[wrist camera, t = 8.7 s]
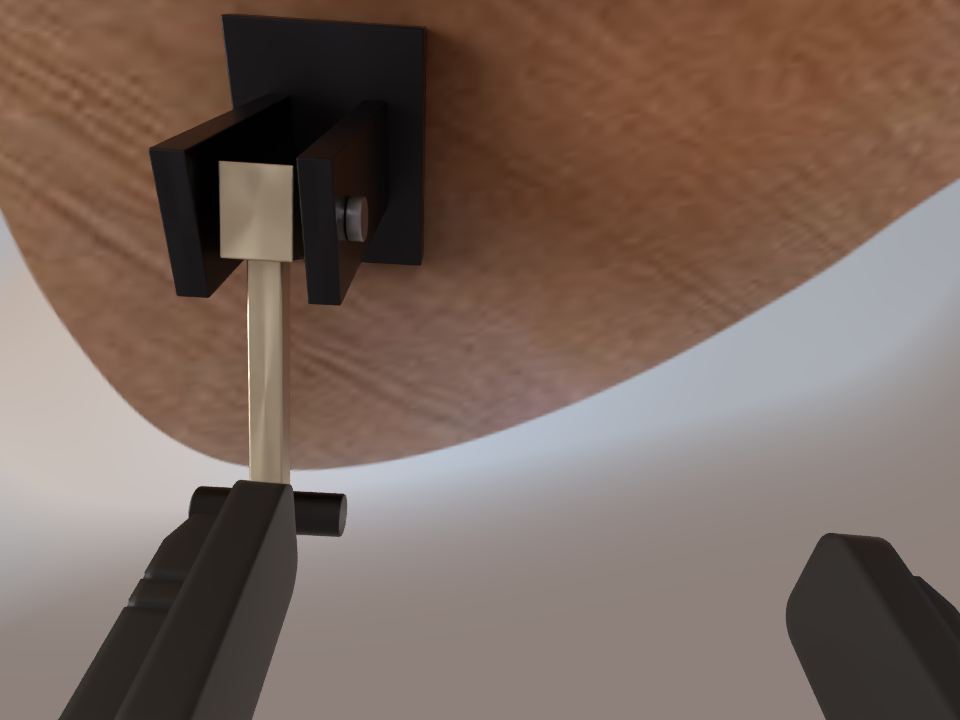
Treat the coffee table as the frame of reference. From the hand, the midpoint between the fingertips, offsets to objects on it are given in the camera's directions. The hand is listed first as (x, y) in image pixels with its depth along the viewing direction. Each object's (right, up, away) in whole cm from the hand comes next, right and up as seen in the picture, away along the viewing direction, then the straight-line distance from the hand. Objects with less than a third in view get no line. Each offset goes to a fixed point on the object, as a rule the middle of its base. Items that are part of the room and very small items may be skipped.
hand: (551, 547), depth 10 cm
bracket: (-8, +12, +19) cm, 24 cm away
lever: (-8, +3, +12) cm, 15 cm away
